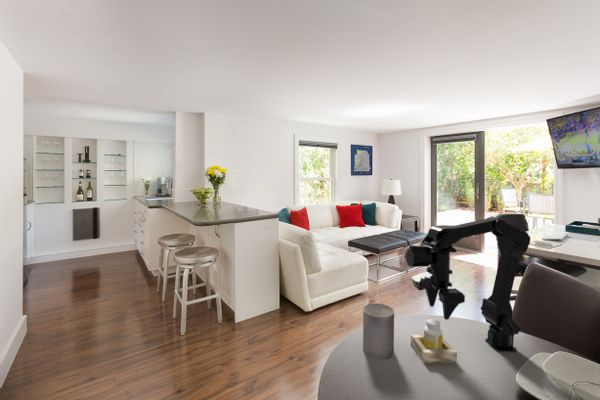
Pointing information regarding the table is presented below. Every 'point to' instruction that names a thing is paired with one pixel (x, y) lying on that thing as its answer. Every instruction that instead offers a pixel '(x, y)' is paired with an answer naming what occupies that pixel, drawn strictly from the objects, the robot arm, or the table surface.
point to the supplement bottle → (432, 335)
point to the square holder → (433, 351)
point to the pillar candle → (378, 330)
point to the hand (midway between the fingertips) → (438, 312)
